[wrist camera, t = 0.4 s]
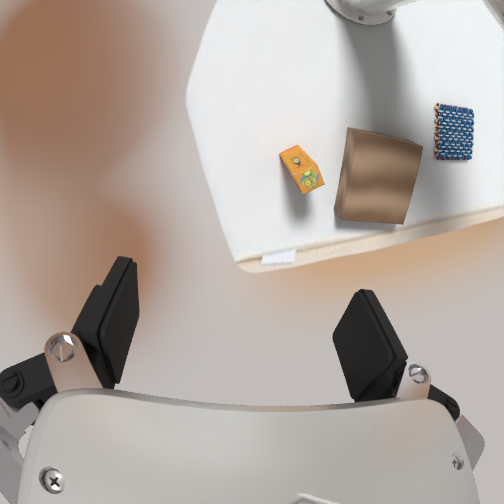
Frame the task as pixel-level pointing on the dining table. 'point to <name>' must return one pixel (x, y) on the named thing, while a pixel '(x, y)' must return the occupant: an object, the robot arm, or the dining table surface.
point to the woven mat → (453, 132)
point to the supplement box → (302, 169)
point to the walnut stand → (376, 177)
